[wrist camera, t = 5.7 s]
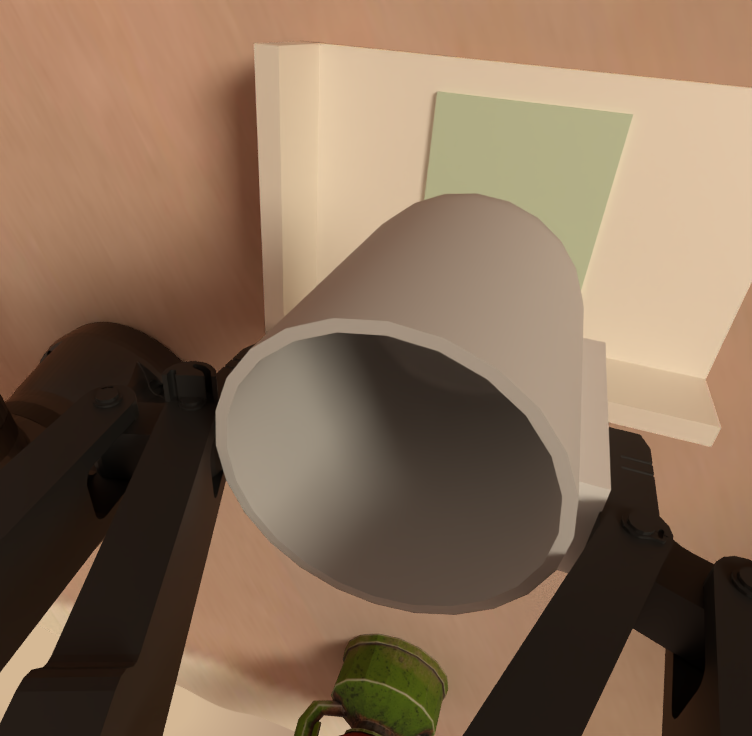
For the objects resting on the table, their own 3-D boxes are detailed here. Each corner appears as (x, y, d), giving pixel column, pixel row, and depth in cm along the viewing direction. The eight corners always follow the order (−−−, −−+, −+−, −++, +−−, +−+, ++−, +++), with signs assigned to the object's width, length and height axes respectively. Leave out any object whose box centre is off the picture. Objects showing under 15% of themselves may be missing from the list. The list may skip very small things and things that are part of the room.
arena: (301, 305, 37) (265, 339, 32) (302, 40, 28) (253, 43, 24) (695, 392, 31) (711, 446, 27) (834, 96, 23) (886, 110, 19)
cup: (632, 244, 16) (668, 434, 8) (490, 478, 21) (439, 710, 14) (395, 150, 16) (239, 249, 9) (321, 401, 22) (189, 584, 15)
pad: (412, 311, 34) (410, 313, 33) (438, 91, 27) (437, 91, 27) (564, 344, 32) (564, 346, 31) (632, 114, 25) (633, 115, 25)
